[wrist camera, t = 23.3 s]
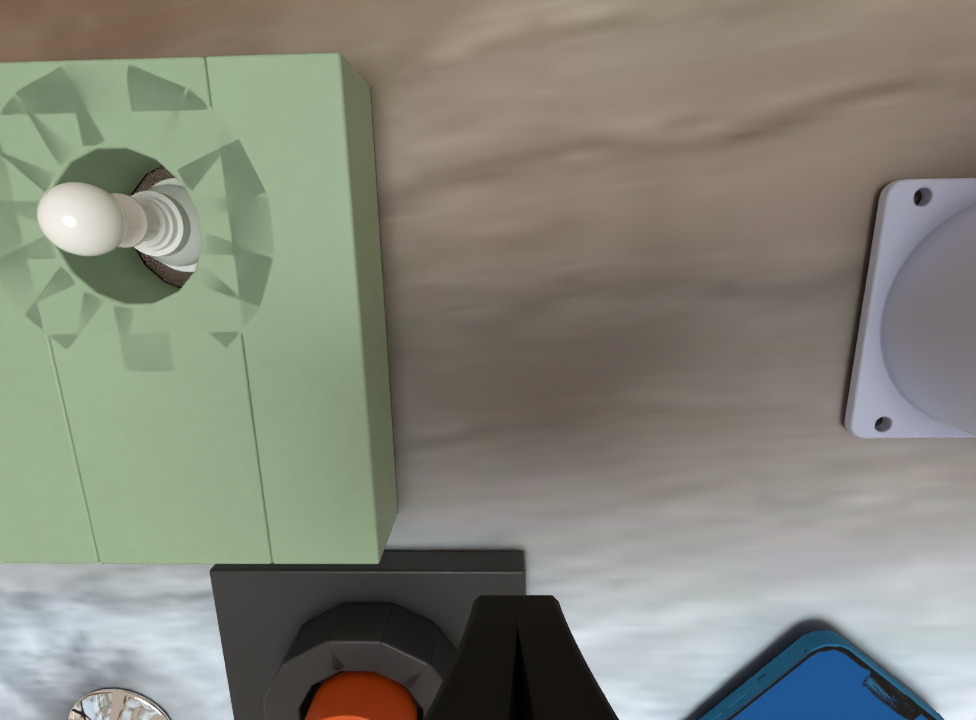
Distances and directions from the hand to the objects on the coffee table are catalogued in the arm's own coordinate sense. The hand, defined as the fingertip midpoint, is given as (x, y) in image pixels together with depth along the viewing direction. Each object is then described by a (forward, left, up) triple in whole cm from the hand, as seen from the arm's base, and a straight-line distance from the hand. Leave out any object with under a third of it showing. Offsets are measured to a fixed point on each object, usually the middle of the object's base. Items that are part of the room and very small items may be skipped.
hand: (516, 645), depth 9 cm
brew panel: (+5, +9, -9) cm, 14 cm away
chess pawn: (+10, -7, -10) cm, 16 cm away
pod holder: (+10, -4, -9) cm, 14 cm away
